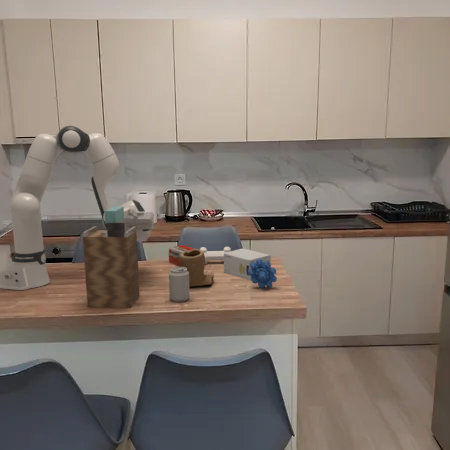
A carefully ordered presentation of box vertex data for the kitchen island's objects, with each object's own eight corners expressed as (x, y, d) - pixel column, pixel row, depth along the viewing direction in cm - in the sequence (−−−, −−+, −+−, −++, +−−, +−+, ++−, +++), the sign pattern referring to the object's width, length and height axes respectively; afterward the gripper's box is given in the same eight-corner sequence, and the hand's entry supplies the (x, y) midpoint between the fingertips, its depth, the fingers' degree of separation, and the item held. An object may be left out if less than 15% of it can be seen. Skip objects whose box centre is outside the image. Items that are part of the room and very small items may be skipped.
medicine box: (168, 263, 229) (168, 247, 228) (182, 260, 234) (182, 244, 233) (185, 269, 217) (184, 252, 216) (199, 266, 222) (199, 250, 221)
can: (186, 303, 173) (185, 271, 171) (167, 302, 175) (165, 270, 172) (191, 296, 180) (191, 266, 178) (173, 295, 182) (172, 265, 180)
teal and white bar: (105, 223, 168) (104, 211, 167) (121, 214, 188) (121, 203, 187) (116, 223, 168) (115, 211, 167) (131, 214, 187) (131, 203, 187)
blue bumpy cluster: (247, 291, 186) (247, 261, 183) (248, 285, 192) (248, 257, 190) (277, 291, 185) (277, 262, 182) (276, 286, 191) (276, 257, 189)
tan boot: (178, 290, 187) (177, 254, 184) (177, 281, 199) (176, 247, 196) (216, 289, 189) (215, 252, 186) (213, 280, 200) (213, 246, 198)
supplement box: (223, 273, 211) (222, 252, 210) (243, 267, 220) (243, 247, 218) (250, 281, 199) (250, 259, 198) (270, 274, 208) (271, 254, 206)
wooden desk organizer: (87, 306, 170) (81, 222, 165) (99, 295, 182) (94, 217, 176) (130, 307, 169) (126, 223, 163) (139, 296, 181) (135, 217, 175)
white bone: (230, 262, 231) (230, 245, 231) (231, 265, 223) (231, 248, 222) (200, 262, 231) (199, 246, 230) (199, 265, 222) (199, 248, 221)
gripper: (109, 216, 199) (98, 203, 186) (157, 215, 197) (149, 203, 184) (108, 230, 196) (97, 218, 183) (156, 230, 195) (148, 218, 182)
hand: (123, 211), depth 184 cm, fingers closed on teal and white bar, 3 cm apart
